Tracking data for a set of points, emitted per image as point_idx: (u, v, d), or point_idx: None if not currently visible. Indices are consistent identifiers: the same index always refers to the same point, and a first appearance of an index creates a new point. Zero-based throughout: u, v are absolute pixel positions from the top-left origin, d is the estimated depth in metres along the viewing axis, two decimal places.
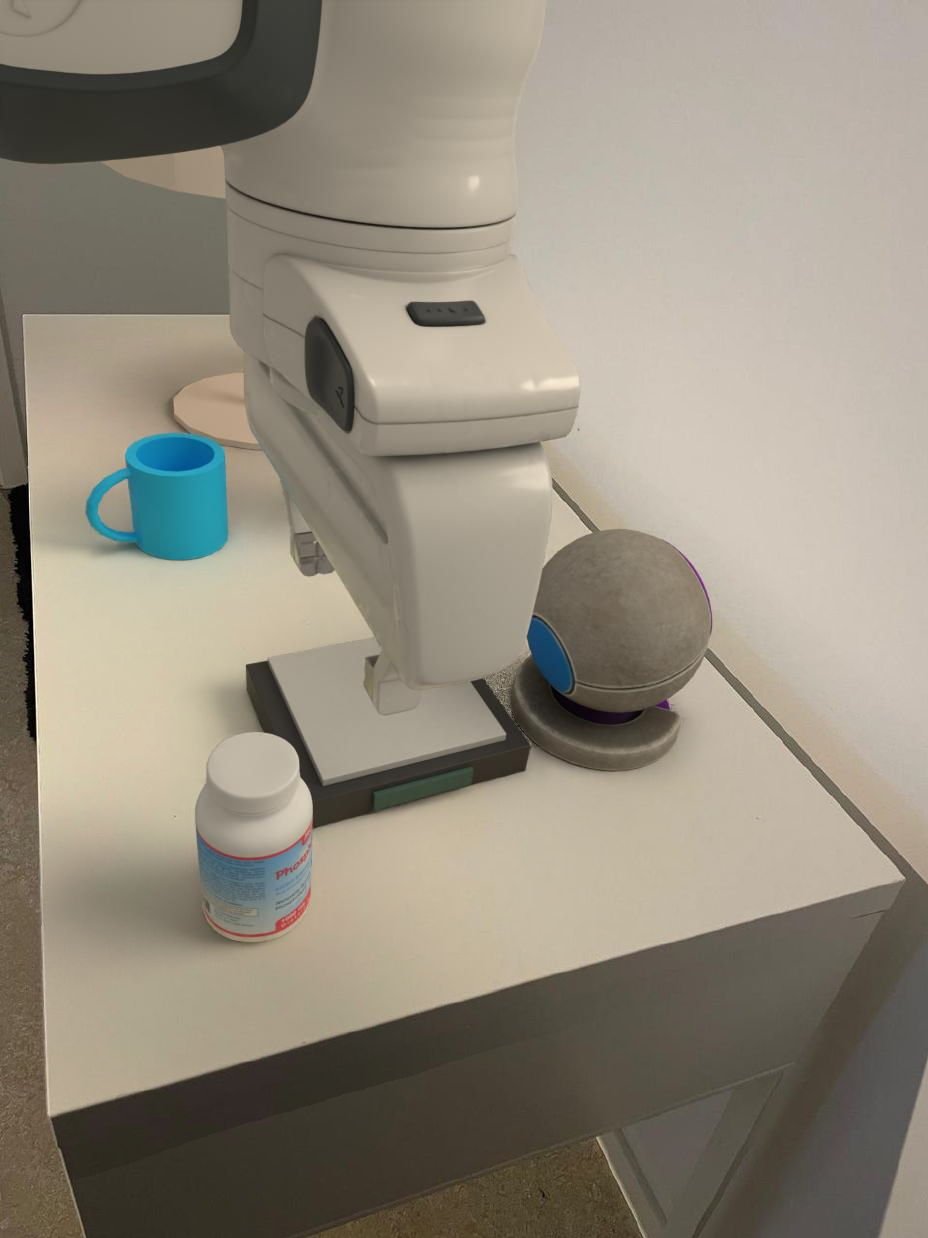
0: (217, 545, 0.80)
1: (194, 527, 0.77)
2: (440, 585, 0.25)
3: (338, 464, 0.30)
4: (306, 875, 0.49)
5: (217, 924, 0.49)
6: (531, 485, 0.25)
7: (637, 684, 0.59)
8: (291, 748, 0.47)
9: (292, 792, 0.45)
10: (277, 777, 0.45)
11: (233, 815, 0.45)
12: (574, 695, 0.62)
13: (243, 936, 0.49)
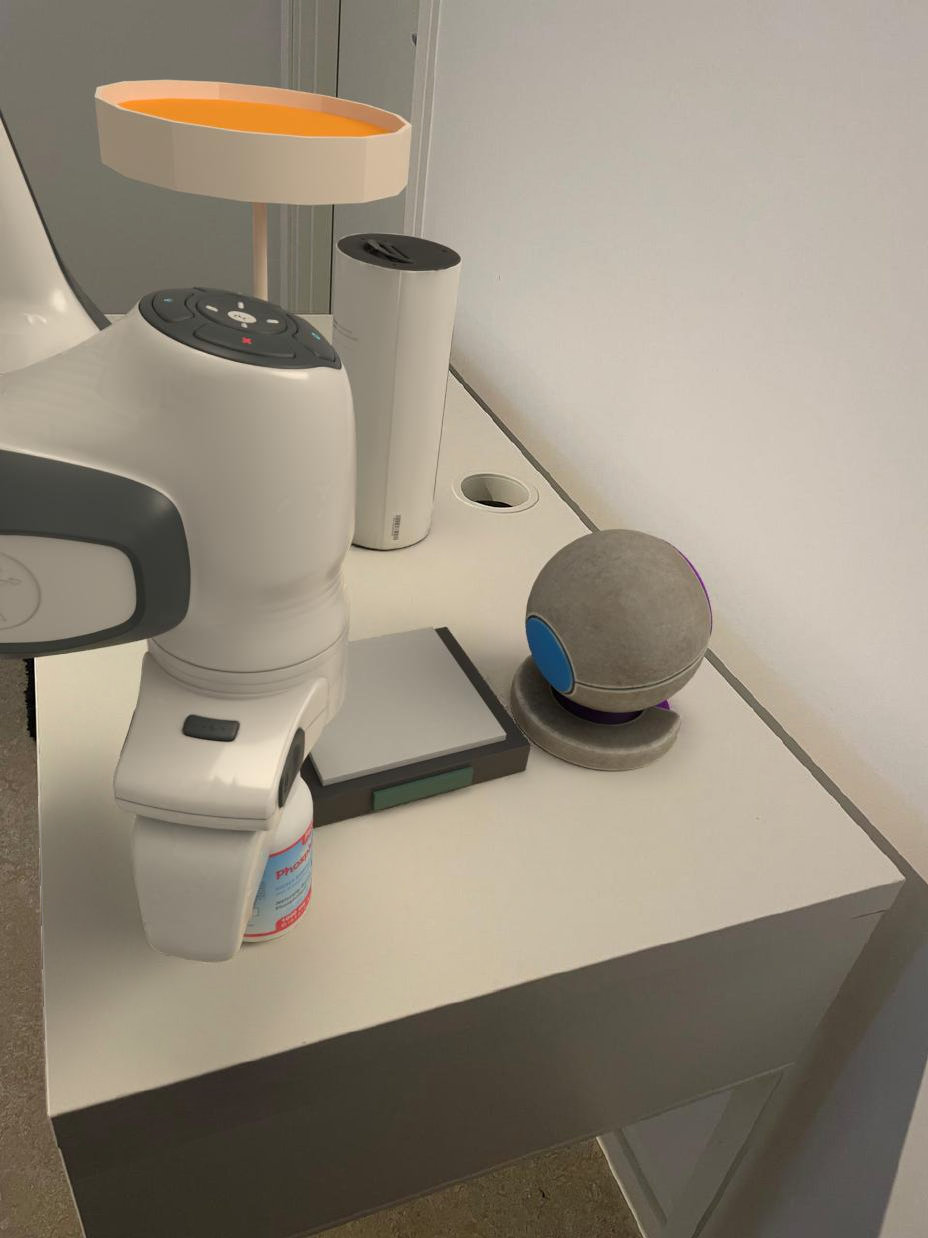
0: None
1: None
2: (157, 900, 0.36)
3: None
4: (306, 875, 0.49)
5: None
6: (230, 857, 0.36)
7: (637, 684, 0.59)
8: None
9: (292, 792, 0.45)
10: None
11: None
12: (574, 695, 0.62)
13: (243, 936, 0.49)
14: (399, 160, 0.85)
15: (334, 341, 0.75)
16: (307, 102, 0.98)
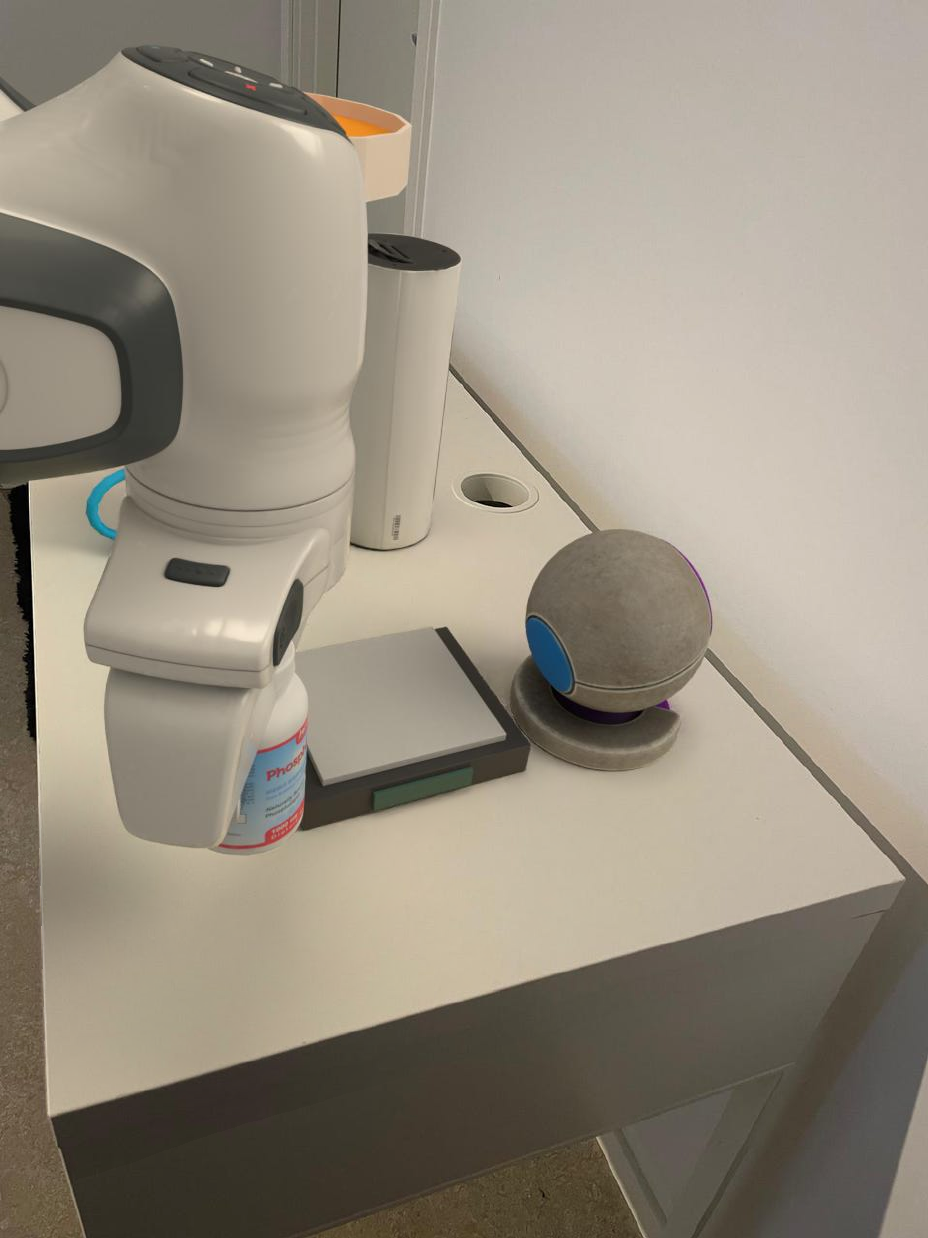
0: None
1: None
2: (132, 769, 0.32)
3: None
4: (300, 782, 0.45)
5: None
6: (217, 718, 0.31)
7: (637, 684, 0.59)
8: None
9: (286, 680, 0.41)
10: None
11: None
12: (574, 695, 0.62)
13: (229, 847, 0.44)
14: (399, 160, 0.85)
15: None
16: None
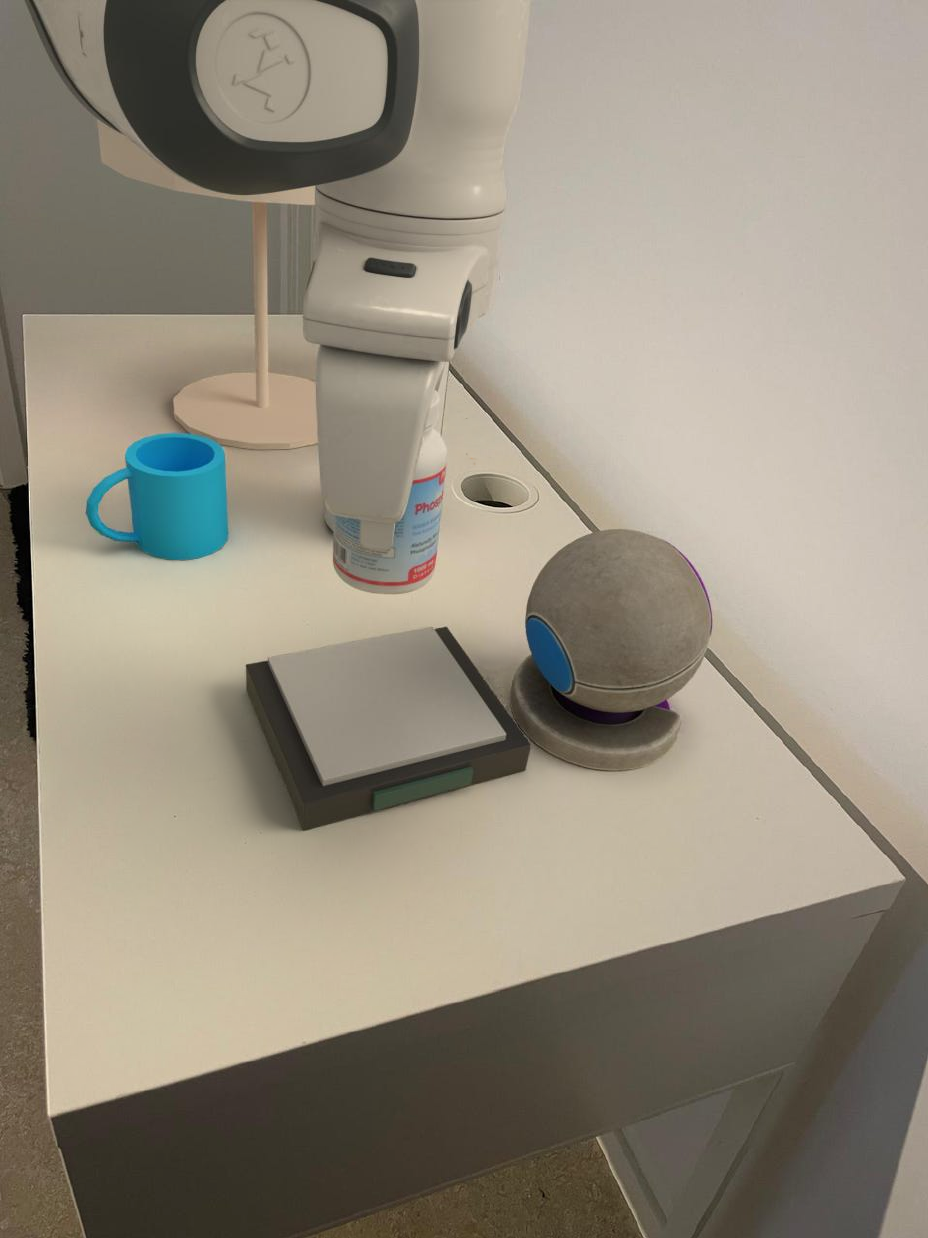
0: (217, 545, 0.80)
1: (194, 527, 0.77)
2: (338, 435, 0.38)
3: None
4: (437, 527, 0.51)
5: (352, 574, 0.51)
6: (410, 386, 0.38)
7: (637, 684, 0.59)
8: None
9: (434, 419, 0.47)
10: None
11: None
12: (574, 695, 0.62)
13: (377, 584, 0.51)
14: None
15: None
16: None
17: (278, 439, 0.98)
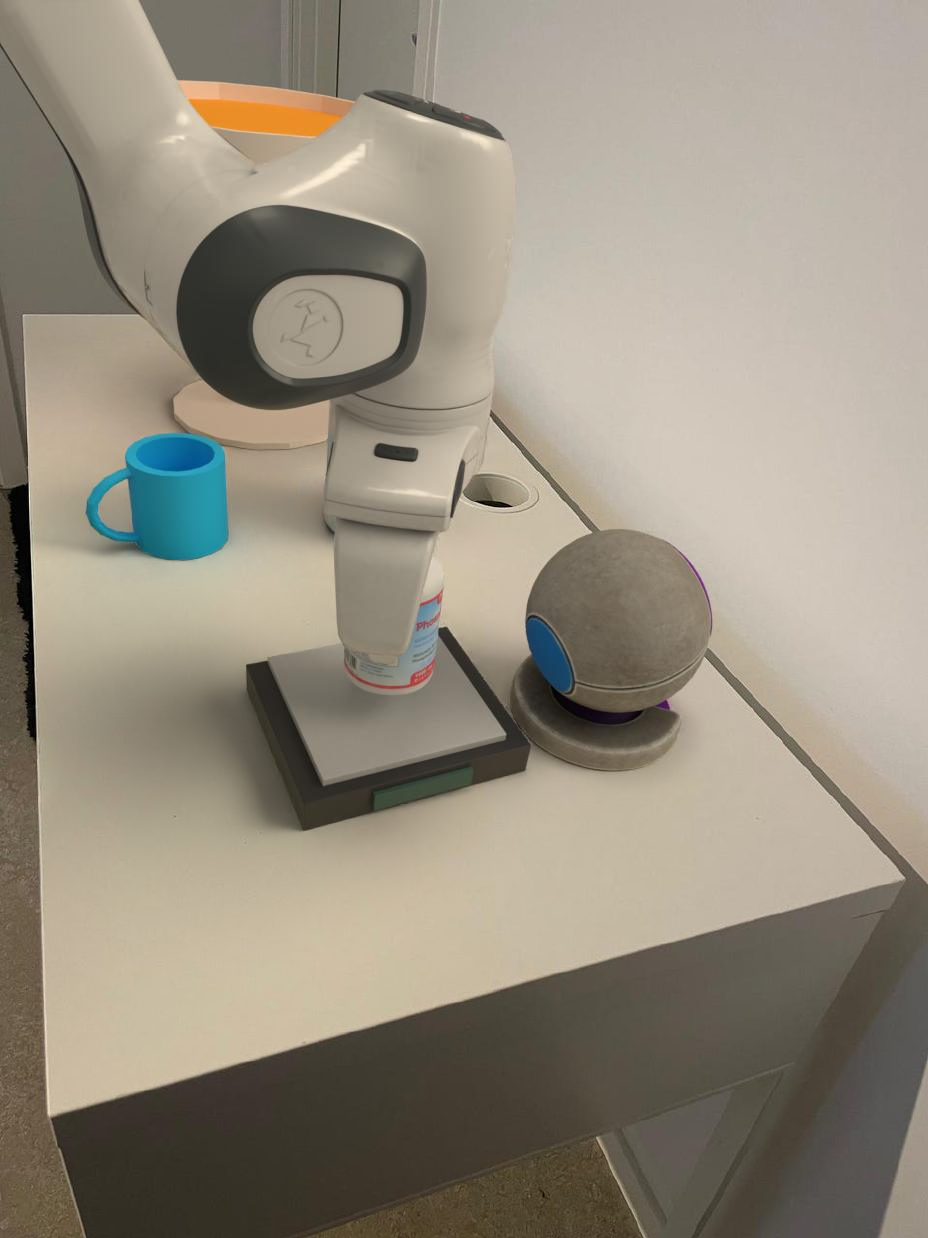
0: (217, 545, 0.80)
1: (194, 527, 0.77)
2: (352, 591, 0.46)
3: None
4: (436, 637, 0.59)
5: (361, 678, 0.58)
6: (413, 552, 0.45)
7: (637, 684, 0.59)
8: None
9: None
10: None
11: None
12: (574, 695, 0.62)
13: (383, 688, 0.58)
14: None
15: None
16: (307, 102, 0.98)
17: (278, 439, 0.98)
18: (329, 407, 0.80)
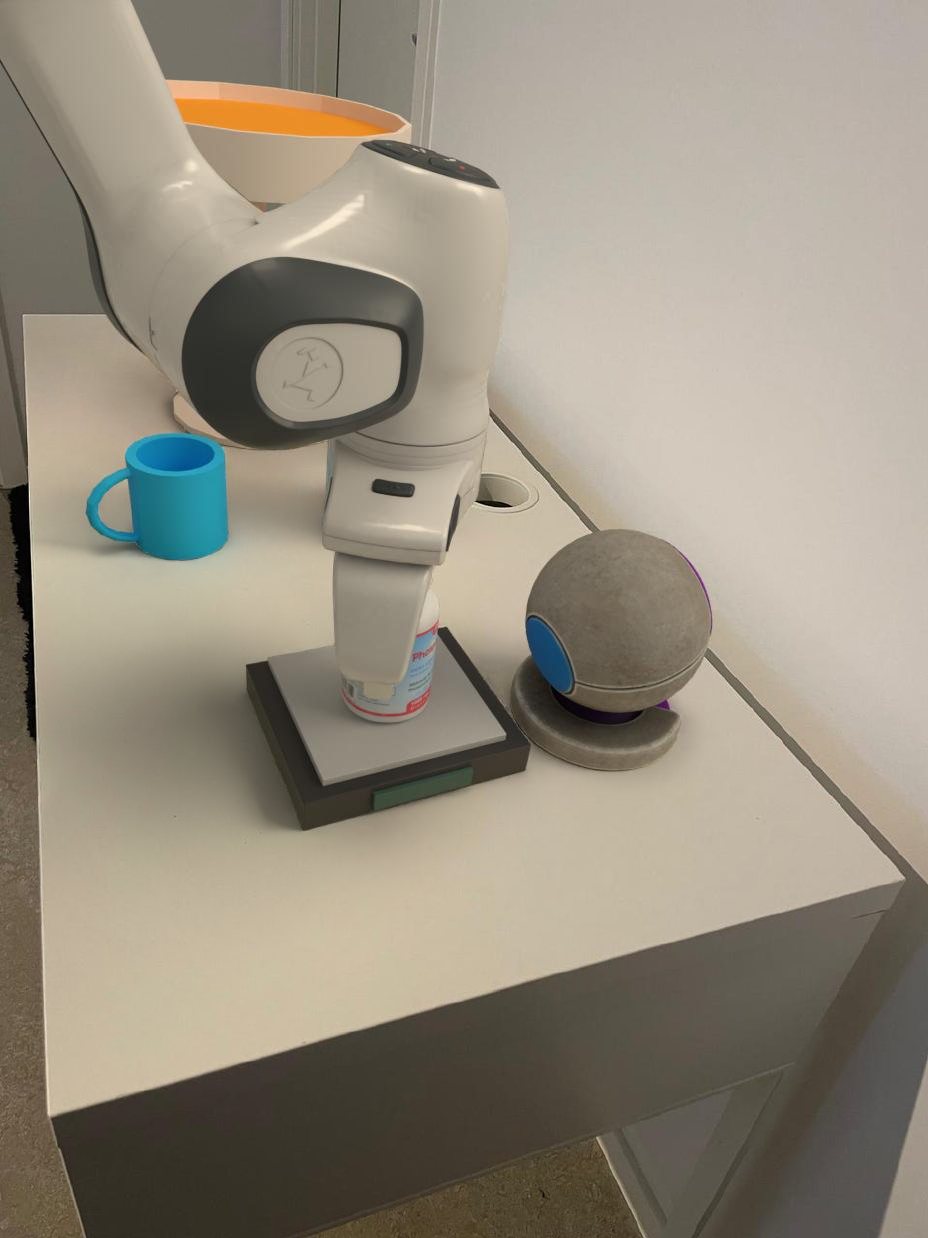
0: (217, 545, 0.80)
1: (194, 527, 0.77)
2: (350, 623, 0.47)
3: None
4: (431, 666, 0.60)
5: (359, 706, 0.60)
6: (410, 586, 0.46)
7: (637, 684, 0.59)
8: None
9: (429, 585, 0.56)
10: None
11: None
12: (574, 695, 0.62)
13: (380, 715, 0.60)
14: None
15: None
16: (307, 102, 0.98)
17: None
18: None
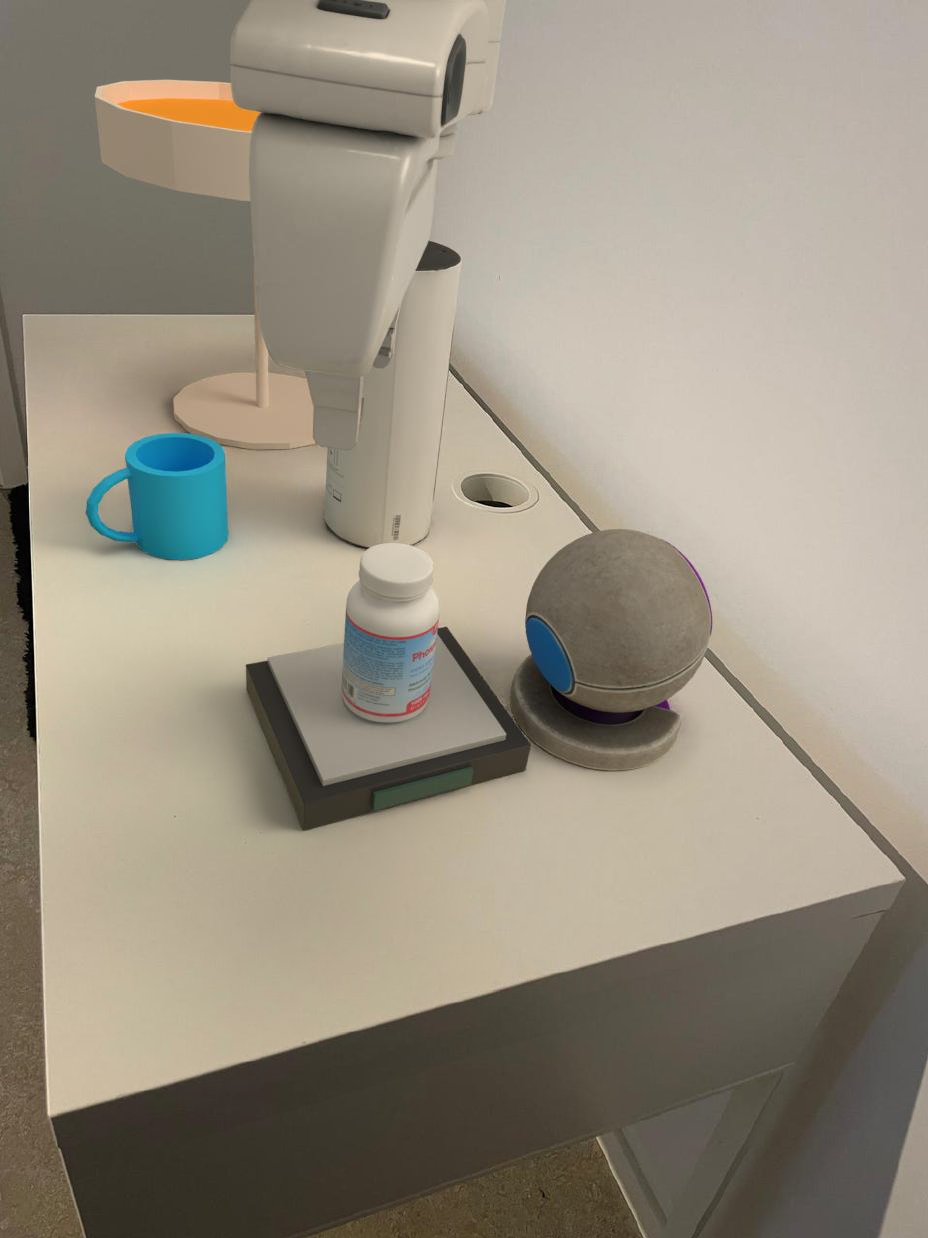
0: (217, 545, 0.80)
1: (194, 527, 0.77)
2: (280, 240, 0.28)
3: None
4: (431, 666, 0.60)
5: (359, 706, 0.60)
6: (380, 167, 0.27)
7: (637, 684, 0.59)
8: (425, 553, 0.57)
9: (429, 585, 0.56)
10: (418, 571, 0.56)
11: (382, 601, 0.56)
12: (574, 695, 0.62)
13: (380, 715, 0.60)
14: None
15: None
16: None
17: (278, 439, 0.98)
18: None
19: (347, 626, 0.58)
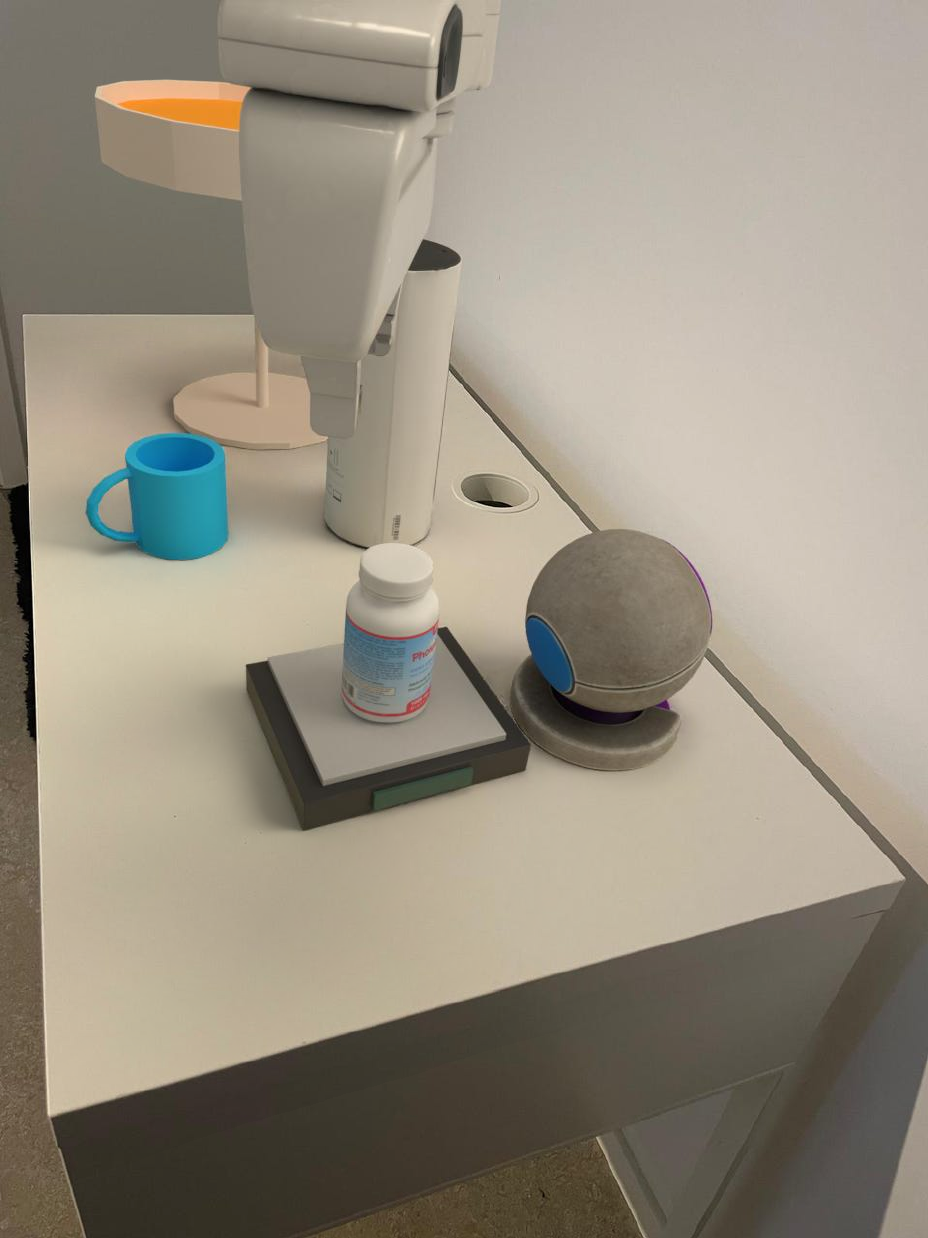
0: (217, 545, 0.80)
1: (194, 527, 0.77)
2: (271, 220, 0.27)
3: None
4: (431, 666, 0.60)
5: (359, 706, 0.60)
6: (374, 142, 0.26)
7: (637, 684, 0.59)
8: (425, 553, 0.57)
9: (429, 585, 0.56)
10: (418, 571, 0.56)
11: (382, 601, 0.56)
12: (574, 695, 0.62)
13: (380, 715, 0.60)
14: None
15: None
16: None
17: (278, 439, 0.98)
18: None
19: (347, 626, 0.58)
